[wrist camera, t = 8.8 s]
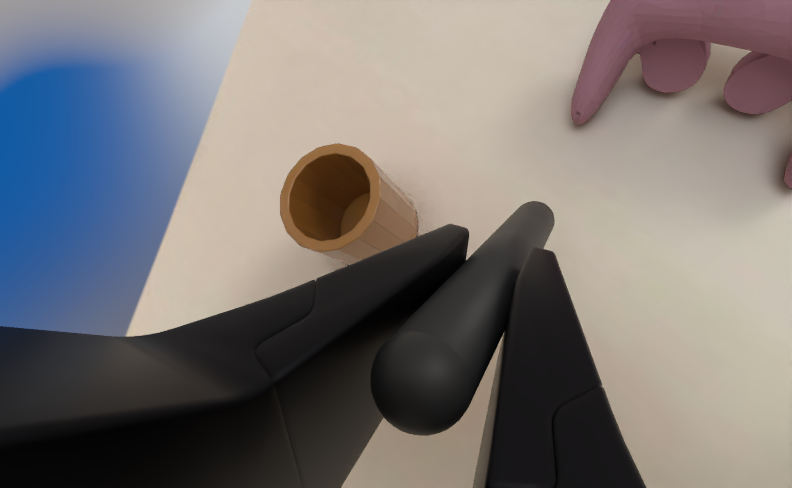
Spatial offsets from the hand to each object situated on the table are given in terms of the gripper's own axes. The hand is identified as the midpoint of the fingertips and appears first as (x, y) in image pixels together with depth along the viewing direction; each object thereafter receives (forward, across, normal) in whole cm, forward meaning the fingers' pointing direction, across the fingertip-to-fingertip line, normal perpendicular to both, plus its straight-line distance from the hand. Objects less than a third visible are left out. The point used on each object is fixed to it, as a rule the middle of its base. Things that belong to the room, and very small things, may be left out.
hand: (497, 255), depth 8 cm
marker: (+5, 0, +5) cm, 7 cm away
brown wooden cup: (+9, +8, +7) cm, 14 cm away
